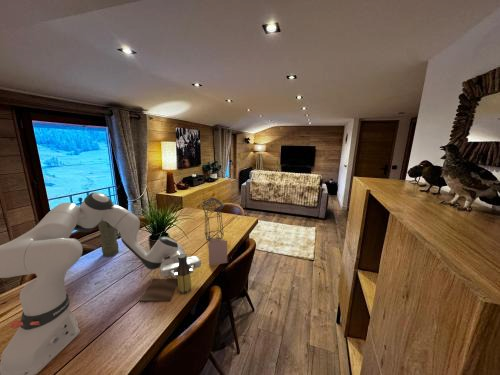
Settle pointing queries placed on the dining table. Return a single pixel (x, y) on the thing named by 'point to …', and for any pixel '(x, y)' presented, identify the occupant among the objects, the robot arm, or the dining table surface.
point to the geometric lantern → (212, 217)
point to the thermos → (108, 239)
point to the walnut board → (160, 290)
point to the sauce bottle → (183, 275)
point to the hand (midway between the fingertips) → (184, 274)
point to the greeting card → (217, 251)
